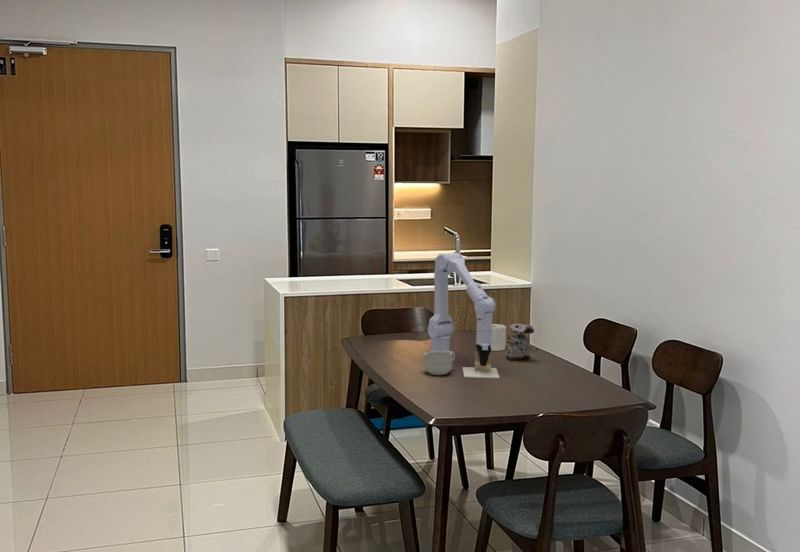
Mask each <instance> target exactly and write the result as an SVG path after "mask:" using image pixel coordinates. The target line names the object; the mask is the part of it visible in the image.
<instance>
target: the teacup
mask: <svg viewBox="0 0 800 552" xmlns="http://www.w3.org/2000/svg"><path fill="white" fill-rule="evenodd" d="M423 359H424V361H423V362H424V368H425V371H426V372H427V373H429V375H433V376H443V375H447V374H448V373H449V372H450V371H451V370H452V369H453V368H452V367H453V362H454V361H455V359H456V354H455V351H452V350H449V352H448V351H426V352H424V353H423Z"/></svg>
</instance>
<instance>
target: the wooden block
mask: <svg viewBox="0 0 800 552" xmlns="http://www.w3.org/2000/svg"><path fill="white" fill-rule="evenodd" d="M474 355H475V356H474V367H475V371H486V372H491V368H492V352H490V354H489V356H488V360H487V364H486V366H481V365H480V359H479V353H478V351H476V352H475V353H474Z"/></svg>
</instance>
